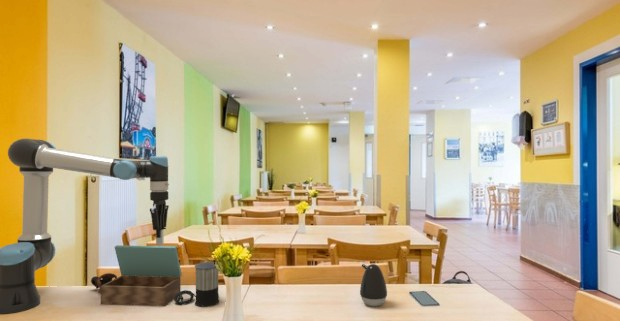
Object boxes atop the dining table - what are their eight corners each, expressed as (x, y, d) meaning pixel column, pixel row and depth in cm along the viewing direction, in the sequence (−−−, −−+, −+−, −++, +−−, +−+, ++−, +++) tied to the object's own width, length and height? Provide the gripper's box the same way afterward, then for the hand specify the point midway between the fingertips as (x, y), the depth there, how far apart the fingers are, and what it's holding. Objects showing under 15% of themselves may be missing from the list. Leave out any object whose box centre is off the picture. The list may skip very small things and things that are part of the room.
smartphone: (421, 305, 148) (408, 291, 163) (421, 308, 148) (408, 294, 163) (440, 304, 149) (425, 290, 164) (440, 307, 149) (425, 293, 164)
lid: (114, 247, 162) (116, 245, 164) (121, 275, 167) (123, 273, 169) (175, 247, 160) (176, 245, 161) (180, 277, 164) (181, 274, 166)
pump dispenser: (370, 297, 158) (370, 259, 158) (392, 304, 151) (392, 264, 151) (354, 304, 151) (353, 264, 151) (376, 311, 144) (376, 269, 144)
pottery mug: (122, 287, 176) (123, 273, 172) (111, 303, 167) (112, 289, 164) (95, 280, 175) (95, 267, 172) (83, 296, 167) (83, 282, 163)
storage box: (100, 304, 153) (100, 286, 153) (121, 292, 167) (121, 275, 167) (164, 306, 150) (164, 287, 150) (180, 293, 164) (180, 277, 164)
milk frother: (222, 304, 152) (222, 265, 152) (180, 312, 144) (180, 272, 144) (211, 293, 164) (211, 258, 164) (172, 301, 156) (171, 263, 156)
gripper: (160, 192, 167) (160, 248, 167) (174, 189, 180) (174, 241, 180) (143, 192, 168) (144, 247, 168) (158, 190, 181) (158, 241, 181)
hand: (159, 244), depth 174 cm, fingers closed
